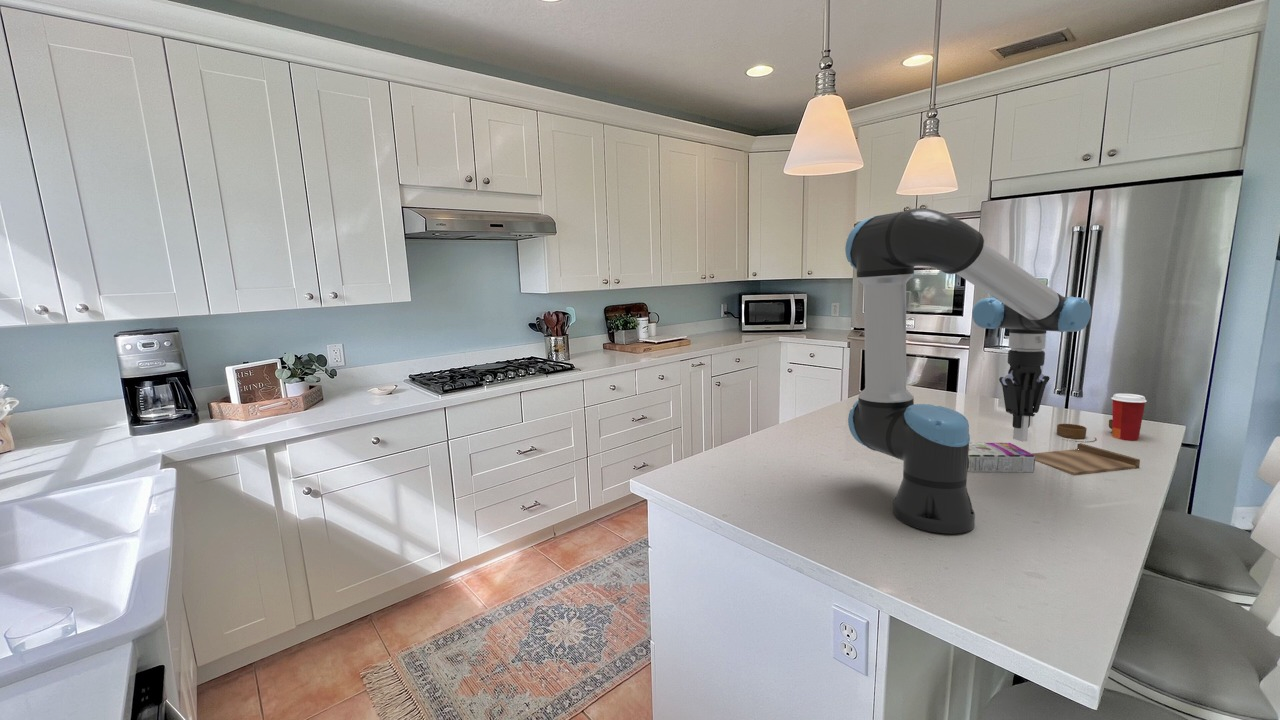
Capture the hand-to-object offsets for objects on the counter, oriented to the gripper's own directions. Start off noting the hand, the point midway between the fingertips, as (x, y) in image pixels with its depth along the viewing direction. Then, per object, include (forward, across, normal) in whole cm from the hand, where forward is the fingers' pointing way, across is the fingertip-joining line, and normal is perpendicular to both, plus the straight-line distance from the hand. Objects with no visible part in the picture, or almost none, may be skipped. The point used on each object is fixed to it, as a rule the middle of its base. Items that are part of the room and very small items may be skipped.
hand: (1019, 439), depth 135 cm
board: (+8, +19, 0) cm, 20 cm away
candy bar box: (+5, +3, +1) cm, 6 cm away
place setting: (+8, +40, +16) cm, 44 cm away
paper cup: (+8, +50, +12) cm, 52 cm away
